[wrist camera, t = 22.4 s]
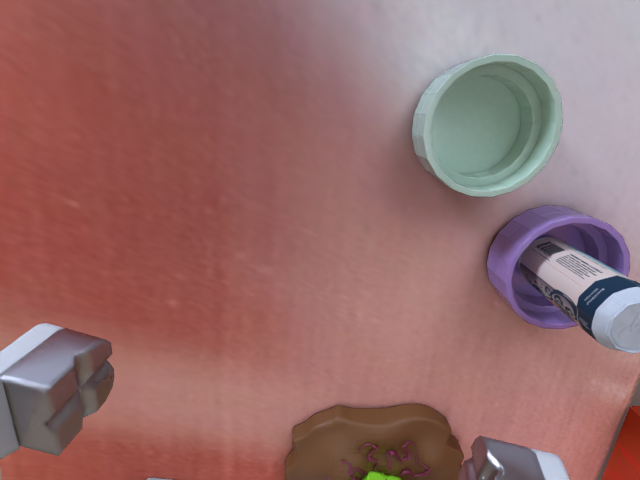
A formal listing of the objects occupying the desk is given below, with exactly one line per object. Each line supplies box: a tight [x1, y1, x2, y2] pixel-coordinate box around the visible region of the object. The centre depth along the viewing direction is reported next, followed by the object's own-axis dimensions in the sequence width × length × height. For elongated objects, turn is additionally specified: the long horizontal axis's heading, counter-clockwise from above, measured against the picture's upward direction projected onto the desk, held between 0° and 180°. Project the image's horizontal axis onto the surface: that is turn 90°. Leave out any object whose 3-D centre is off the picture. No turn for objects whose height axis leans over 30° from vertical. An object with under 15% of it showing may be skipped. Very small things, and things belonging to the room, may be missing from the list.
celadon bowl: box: [412, 54, 563, 197], centre depth 31 cm, size 10×10×4 cm
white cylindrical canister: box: [518, 237, 640, 354], centre depth 31 cm, size 5×5×12 cm
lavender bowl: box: [487, 206, 630, 329], centre depth 35 cm, size 10×10×4 cm
